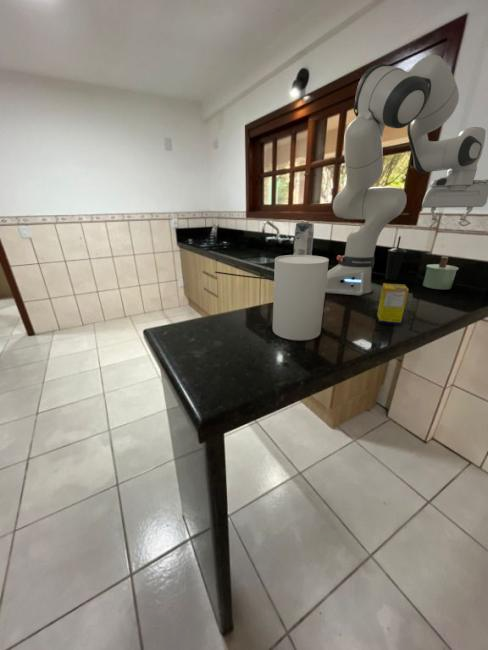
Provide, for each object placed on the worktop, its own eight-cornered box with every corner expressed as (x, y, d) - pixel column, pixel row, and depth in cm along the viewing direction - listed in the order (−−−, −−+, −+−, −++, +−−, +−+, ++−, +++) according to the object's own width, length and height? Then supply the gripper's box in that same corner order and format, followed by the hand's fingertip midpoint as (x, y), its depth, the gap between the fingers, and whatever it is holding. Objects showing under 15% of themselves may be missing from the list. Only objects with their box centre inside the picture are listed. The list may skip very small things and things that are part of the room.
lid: (433, 271, 107) (436, 259, 105) (421, 266, 117) (424, 254, 115) (463, 272, 105) (468, 259, 103) (448, 267, 115) (452, 255, 113)
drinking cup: (402, 280, 126) (413, 237, 118) (386, 280, 126) (396, 237, 118) (394, 277, 133) (403, 235, 125) (379, 277, 133) (387, 235, 125)
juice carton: (310, 270, 149) (315, 219, 138) (308, 274, 140) (312, 220, 129) (295, 269, 152) (298, 219, 141) (291, 273, 143) (294, 220, 132)
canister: (262, 328, 76) (264, 258, 68) (294, 317, 84) (299, 253, 76) (297, 345, 66) (304, 266, 58) (330, 331, 74) (339, 259, 66)
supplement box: (396, 318, 82) (404, 284, 78) (400, 325, 77) (409, 289, 73) (376, 316, 84) (382, 282, 80) (378, 323, 79) (385, 287, 75)
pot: (428, 290, 111) (434, 270, 107) (418, 284, 120) (423, 265, 116) (455, 291, 109) (462, 270, 106) (442, 284, 118) (448, 265, 115)
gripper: (491, 180, 98) (478, 219, 103) (426, 183, 106) (417, 219, 112) (497, 178, 93) (483, 220, 98) (428, 181, 101) (419, 220, 107)
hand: (447, 220), depth 105 cm, fingers open, 8 cm apart
